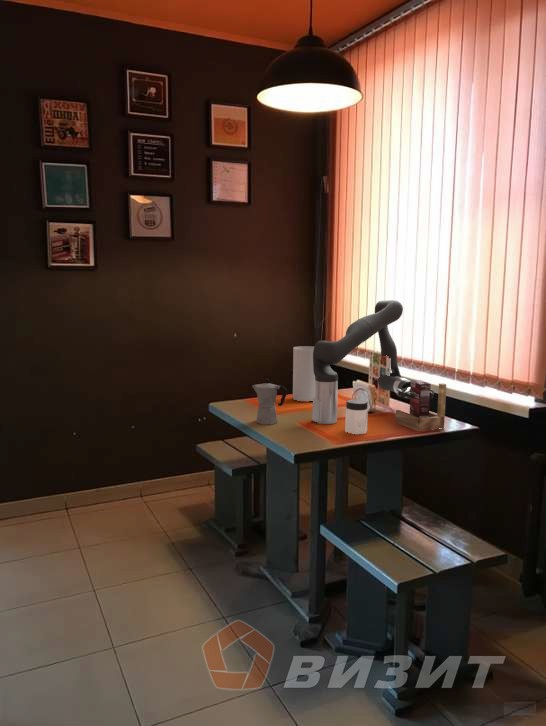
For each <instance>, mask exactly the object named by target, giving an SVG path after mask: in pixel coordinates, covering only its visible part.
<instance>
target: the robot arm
mask: <svg viewBox="0 0 546 726" xmlns="http://www.w3.org/2000/svg"><path fill="white" fill-rule="evenodd" d="M403 310H404V307H403V305H402V303H401V302H400V301H398V300H393V299H391V300H390V299H388V300H380V301H378V302H376V303H375V306H374V313H372V314H368V315H365V316H362V317H360V318H358V319H356V320H355V321H354V322H352V323H351V324H350V325H349V326H348V327H347V328H346V331H345V335H344V336H343V337H342V338H340V339H338V340H336V341H331V340H319V341H317V342H316V343H315V345H314V346H313V347H314V350H313V371H314V375H315V398H313V402H312V416H311V417H312V421H313V422H315V423H316V422H317V423H316V424H319V425H331V424H332V425H333V424H335V423H337V421H338V391H339V390H338V387H339V385H338V384H339V383H338V382H339V381H338V380H339V375H338V373H337V372H336V371H335V370H333V369H332V368H331V365H333V366H334V365H336V364H339V363H340V362H341V361H342V360H344V359H345V357H347V356H348V355H349V354H350V353H351V352H352V351H353V350H355V349H356V348H358V347H359V346H360V345H361V344H363V343H365V342H366V341H367V340H369V339H370V338H371V337H372V336H374V335H375V334H377V333H378V334H377V335H378V338H379V343H380V357H381V356H386V355H387V356H389V358H391V369H390V371H391V372H389V373H390V376H387V375H382V376H380V375H379V376H380V377H379V376H378V377H379V378H377V384H378V385H377V386H378V387H379V388H380V389H381V390H383V391H389V392H394V393H395V394H396V396H398V397H400V398H404V399H407V400H410V399H413V393H411V392H410V390H411V379H407V378H404V377H402V375H401V373H400V369H399V365H398V352H397V351H398V350H397V345H396V343H395V342H394V339H393V337H392V336H391V334H390V331H389V327H388V326H389V325H391V324H393V323H394V322H396V321H398V320H399V319H400V318H401V317H402V315H403V312H404V311H403ZM434 396H435V392H434V389H432V388H430V399H434Z"/></svg>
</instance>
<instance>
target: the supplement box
mask: <svg viewBox="0 0 546 726" xmlns="http://www.w3.org/2000/svg"><path fill="white" fill-rule="evenodd" d="M410 381H411V390H410V392H411V393H413V399H409V414H411V415H413V416H416V417H418V418H426V417H429V411H430V403H431V402H430V401H431V398H430V389H431V383H429V382H427V381H424V380H422V379H413V380H411V379H410Z"/></svg>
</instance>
